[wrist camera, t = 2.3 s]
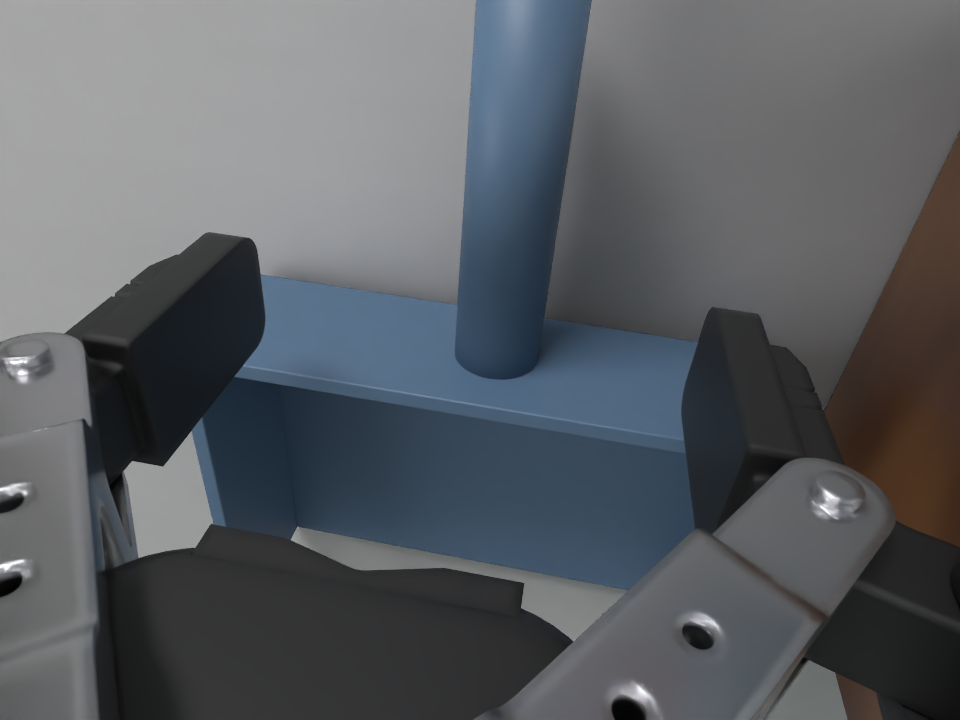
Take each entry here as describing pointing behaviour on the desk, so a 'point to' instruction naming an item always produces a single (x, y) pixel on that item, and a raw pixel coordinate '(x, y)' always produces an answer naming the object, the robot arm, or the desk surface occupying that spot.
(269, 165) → the desk surface
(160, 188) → the desk surface
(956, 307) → the storage box
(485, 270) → the dustpan
